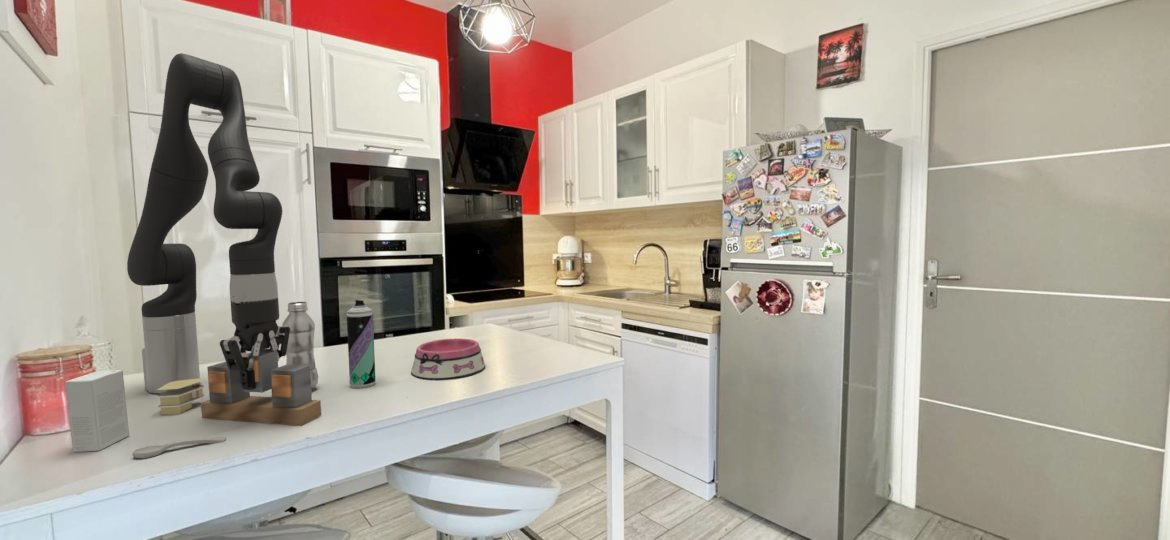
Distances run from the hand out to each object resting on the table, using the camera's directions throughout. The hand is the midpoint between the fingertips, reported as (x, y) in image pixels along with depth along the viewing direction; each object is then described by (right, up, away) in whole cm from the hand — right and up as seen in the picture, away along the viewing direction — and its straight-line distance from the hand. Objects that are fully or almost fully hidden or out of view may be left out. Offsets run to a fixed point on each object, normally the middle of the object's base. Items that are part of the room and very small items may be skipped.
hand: (260, 384), depth 93 cm
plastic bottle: (-1, -5, +16) cm, 17 cm away
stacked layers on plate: (-19, -7, +5) cm, 21 cm away
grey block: (0, -1, 0) cm, 1 cm away
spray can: (+11, -5, +20) cm, 23 cm away
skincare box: (-19, -8, -11) cm, 24 cm away
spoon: (-4, -8, -13) cm, 16 cm away
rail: (0, -6, 0) cm, 6 cm away
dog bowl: (+27, -4, +32) cm, 42 cm away
